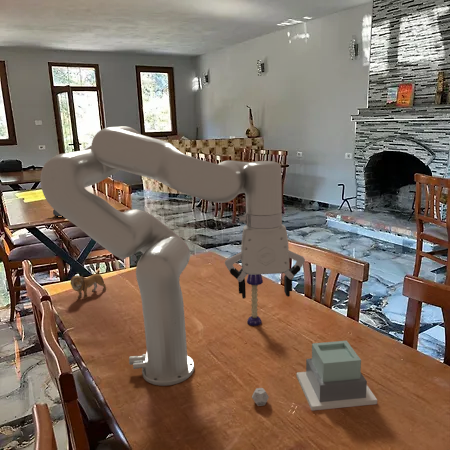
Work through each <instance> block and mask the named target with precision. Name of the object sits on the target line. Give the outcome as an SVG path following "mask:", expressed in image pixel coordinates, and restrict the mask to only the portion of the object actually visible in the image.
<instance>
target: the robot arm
mask: <svg viewBox="0 0 450 450" xmlns="http://www.w3.org/2000/svg"><path fill="white" fill-rule="evenodd" d="M120 171H123V172H126V173H129V174H134V175H137V176H140V177H143V178H148V179H151V180H153V181H158V182H160V183H161V184H162V185H165V186H167V187H169V188H171V189H173V190H174V191H177V192H179V193H182V194H184V195H187V196H190V197H194V198H198V199H200V200H205V201H207V202H212V203H219V204H221V203H222V204H223V203H228V202H231V201H232V200H234V199H236V197H238V195H240V194H245V213H244V214H242V215H239V216H238V218H239V223H244V224H245V225H244V226H243V228H242V229H243V230H242V234H241V243H240V244H241V249H240V252H238V253H236V254H234V255H233V256H231V257H229V258H227V259H226V260H225V259H224V260H225V261H224V264H225V266H226V269H227V270H228V272H229V274H230V275H232V276H233V277H234V278H235V279H236V280H237V282H238V284H237V285H238V294H241V297H242V299H246V298H247V295H246V293H247V292H246V290H247V289H246V279H245V278H246V277H248V274H249V275H257V274H261V275H276V274H284V276H283V282H284V283H283V284H284V285H283V286H284V287H283V289H284V294H285V297H287V298H288V297H290V296H291V295H290V293H291V292H293V279H294V278H295V277H296V275H297V274H298V273H299V272H300V271H301V268H302V267H303V265H304V264H305V261H306V259H305V257H304V256H303V255H300V254H298V253H296V252H293V251H291V250H290V249H289V239H288V232H287V228H286V225H284V224H283V216H282V215H283V214H282V213H283V211H282V208H283V207H282V206H283V205H282V204H283V203H282V201H283V200H282V197H283V196H282V189H283V187H282V183H283V182H282V166H281V164H280V163H279V162H276V161H272V160H258V161H253V162H248V161H239V160H230V159H229V160H224V161H221V162H219V163H214V162H209V161H206V160H203V159H200V158H196V157H193V156H190V155H187V154H186V153H183V152H182V151H180V150H178V148H176V146H175V145H174V144H172V143H171V142H169V141H166V140H162V139H158V138H156V137H155V138H154V137H151V136H148V135H144V134H141V133H140V132H139V131H137V129H134V128H133V127H130V126H126V125H125V126H108V127H105V128H103V129H101V130H99V131H97V133H96V134H95V135H94V136H93V138H92V142H91V145H90V146H89V147H86V148H85V149H81V150H76V151H69V152H64V153H60V154H57V155H54V156H53V157H51V158H50V159H48V160H47V161H46V162H44V164H43V167H42V168H41V173H40V186H41V191H42V194H43V196H44V199H45V200H46V202H47V203H48V204H49V206H51V208H52V209H53V210H55V211H57V212H58V213H59V214H60V215H62V216H63V217H62V218H64V219H66V220H67V221H69V222H70V223H72V224H73V225H74V226H76V227H77V228H78V229H80V230H81V231H82V232H84V233H85V234H86V235H87V236H88V237H89V238H91V239H92V240H93V241H95V242H96V243H97V244H99V245H100V246H101V247H102V248H104V249H105V250H106V251H108V252H109V253H110V254H112V255H113V256H114V257H117V258H120V259H128V258H130V257H132V256H134V255H135V254H137V252H141V253H142V255H141V256H140V258H139V259H138V261H137V263H136V267H135V277H136V281H137V287H138V289H139V294H140V298H141V307H142V316H143V326H144V335H145V346H146V353H142V355H133V356H132V355H131V356H129V358H128V364H129V365H130V366H131V365H132V368H133V369H134V370H135V369H136V370H137V369H141V373H142V374H141V375H142V378H143V379H144V380H145V381H146V382H147V383H150V384H152V385H154V386H155V385H156V386H163V387H164V386H165V387H166V386H172V385H177V384H180V383H182V382H184V381H186V380H187V379H189V377H191V376H192V375H193V373H194V371H195V363H194V360H193V358H192V357H190V356H188V351H187V350H188V348H187V334H186V319H185V318H186V317H185V308H184V307H185V306H184V304H185V303H184V298H183V292H182V287H181V284H180V276H181V275H182V273H183V271H184V270H185V269H186V267H187V266H188V264H189V261H190V258H191V251H190V248H189V246H188V244H187V243H186V241H184V239H183V238H182V237H180V236H179V235H178V234H177V233H176V232H174V231H173V230H172V229H171V228H169V227H168V226H167V225H165V224H164V223H163V222H161V221H160V220H159V219H157V218H156V217H155V216H154V215H152V214H151V213H149V212H147V211H144V210H142V209H136V208H135V209H134V208H133V209H129V210H126V211H124V212H122V211H120V210H119V209H117V208H115V207H114V206H113V205H111V204H110V203H109V202H108V201H107V200H105V199H103V198H102V197H101V196H99V195H97V194H95V193H92V192H90V191H89V190H87V189H86V188H88V187H90V186H94V185H96V184H98V183H100V182H102V181H104V180H106V179H108V178H109V177H111V176H113V175H115V174H116V173H118V172H120ZM290 259H291V260H293V261H295V264H294V265H293V266H291V268H290ZM239 261H240V262H241V268H240V269H239V270H238V269H237V268H235V266H234V264H236V263H237V262H239Z"/></svg>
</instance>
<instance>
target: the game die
mask: <svg viewBox="0 0 450 450" xmlns="http://www.w3.org/2000/svg"><path fill="white" fill-rule="evenodd" d="M269 397H270V396H269V394H268V393H267V391H266V390H265V388H263V387H256V388H255V390H254V391H253V393H252V396H251V398H252V400H253V401H254V403H255V404H256V406H257V407H262V406H264V407H265V405H266V404H267V402H268V399H269Z"/></svg>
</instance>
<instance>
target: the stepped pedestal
mask: <svg viewBox="0 0 450 450" xmlns="http://www.w3.org/2000/svg"><path fill="white" fill-rule="evenodd" d="M305 363H306V364H305V365H306V366H305V371H300V372H296V378H297V380H298V384H299V385H300V388H301V390H302V392H303V394H304V396H305V399H306V401H307V403H308V406H309V408H310V410H311V411H320V410H321V411H323V410H330V409H331V410H332V409H341V408H351V407H360V406H370V405H378V399H377V398H376V396H375V394H374V393H373V392H372V390H371V389H370V387H369V386H368V384H367V383H368V380H367V379H366V378H365V376H364V375H363V374H362V372H361V370H362V359H361V358H360V356H359V355H358V353H356V351H355V350H354V348H353V347H352V346H351V344H350V343H349V342H348V340H339V341H328V342H326V341H325V342H314V343H311V358H306V360H305Z"/></svg>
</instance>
